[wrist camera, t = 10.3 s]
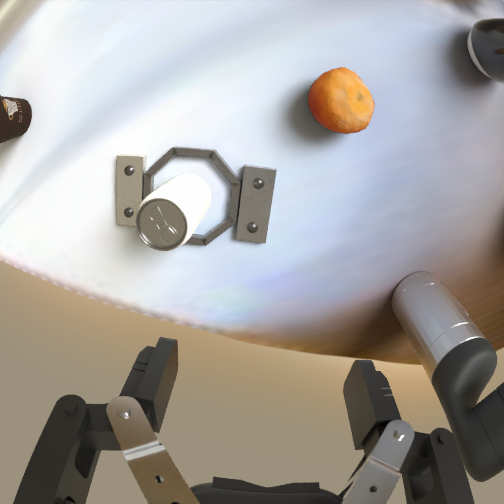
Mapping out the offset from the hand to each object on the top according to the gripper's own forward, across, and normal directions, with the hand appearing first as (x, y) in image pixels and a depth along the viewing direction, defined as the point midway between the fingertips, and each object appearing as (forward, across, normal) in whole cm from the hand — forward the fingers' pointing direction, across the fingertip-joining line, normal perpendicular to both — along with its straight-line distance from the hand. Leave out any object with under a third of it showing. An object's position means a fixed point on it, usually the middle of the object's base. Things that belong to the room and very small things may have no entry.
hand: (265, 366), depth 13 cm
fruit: (+30, -7, -14) cm, 34 cm away
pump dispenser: (+30, -30, -30) cm, 52 cm away
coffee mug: (+30, +42, -12) cm, 53 cm away
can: (+30, +10, +1) cm, 32 cm away
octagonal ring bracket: (+30, +10, +1) cm, 32 cm away
